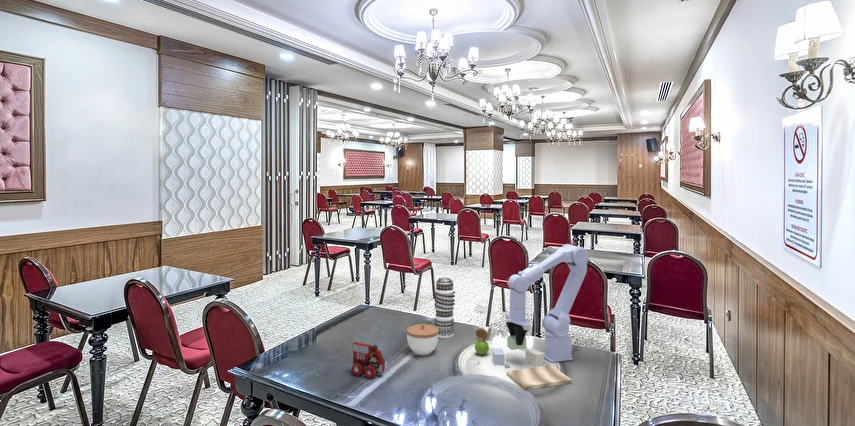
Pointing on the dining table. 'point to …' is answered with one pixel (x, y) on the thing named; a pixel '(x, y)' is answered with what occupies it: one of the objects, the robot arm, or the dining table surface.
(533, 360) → the ivory brick
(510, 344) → the green brick
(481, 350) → the snail figurine
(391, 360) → the dining table surface
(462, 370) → the dining table surface
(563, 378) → the birch board
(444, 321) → the banded tower model
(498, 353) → the blue brick
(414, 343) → the lidded bowl
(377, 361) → the toy fire truck
